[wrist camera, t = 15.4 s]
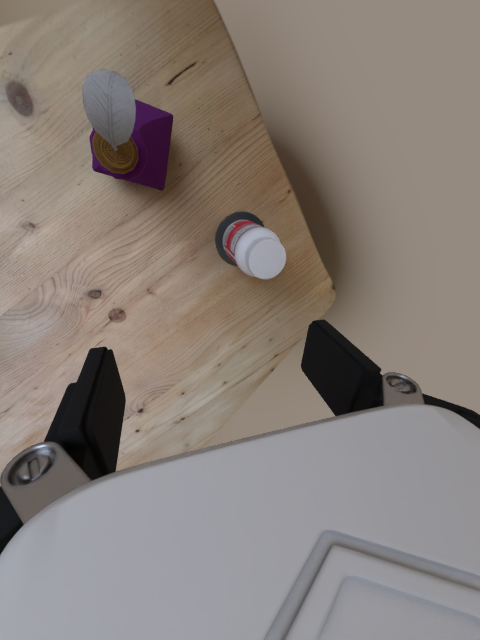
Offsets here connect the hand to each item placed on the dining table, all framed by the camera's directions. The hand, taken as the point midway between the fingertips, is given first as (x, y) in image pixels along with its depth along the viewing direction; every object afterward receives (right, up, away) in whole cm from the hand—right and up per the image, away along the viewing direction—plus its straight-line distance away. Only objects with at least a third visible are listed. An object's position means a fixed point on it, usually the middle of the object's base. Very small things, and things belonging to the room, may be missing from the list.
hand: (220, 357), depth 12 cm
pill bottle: (+1, +14, +26) cm, 30 cm away
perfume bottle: (-12, +22, +18) cm, 31 cm away
